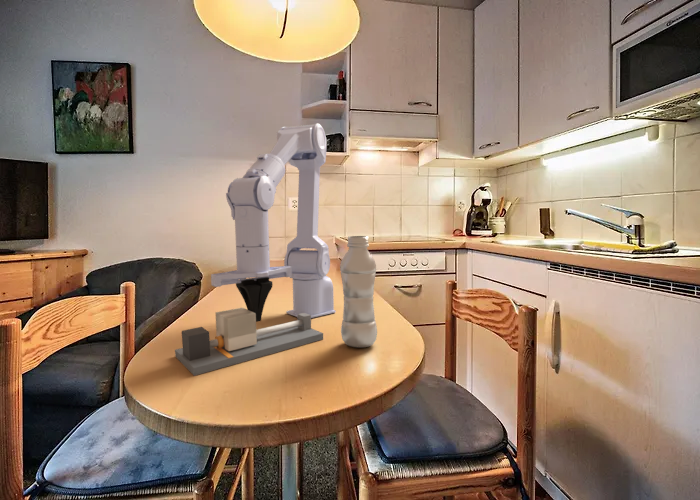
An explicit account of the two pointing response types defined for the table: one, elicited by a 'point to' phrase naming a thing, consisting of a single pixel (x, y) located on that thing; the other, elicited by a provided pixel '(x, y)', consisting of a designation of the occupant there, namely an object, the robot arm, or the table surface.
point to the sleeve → (236, 328)
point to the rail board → (213, 355)
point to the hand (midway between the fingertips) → (255, 320)
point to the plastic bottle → (358, 294)
